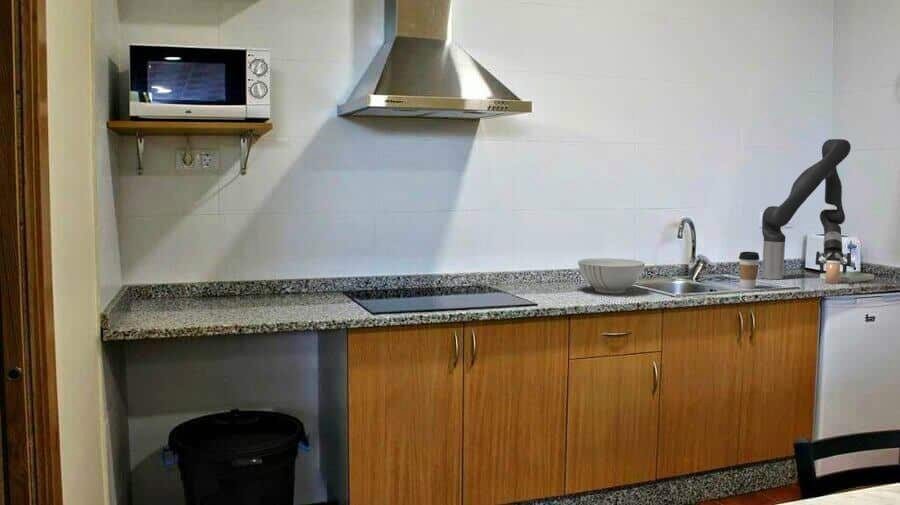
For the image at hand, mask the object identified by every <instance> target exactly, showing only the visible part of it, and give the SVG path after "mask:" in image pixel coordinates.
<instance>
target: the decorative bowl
mask: <svg viewBox="0 0 900 505" xmlns="http://www.w3.org/2000/svg"><path fill="white" fill-rule="evenodd" d="M577 264H578V268H579V271H580V272H581V275H582V277H583V278H584V280H585V281H586V282H587V283H588V284H589V285H590V286H591V287H593V288H594V291H596V292H598V293H602V294H623V293H626V291H627V289H629V288H631V287H632V286H633V285H634V284H636V283H637V282H638V280H639V279H640V277H641V275H642V274H643V272H644V269H645V266H646V264H645V262H643V261H641V260H637V259H636V260H635V259H629V258H614V257H613V258H612V257H592V258H591V257H590V258H582V259H579V260H578V261H577Z"/></svg>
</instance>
